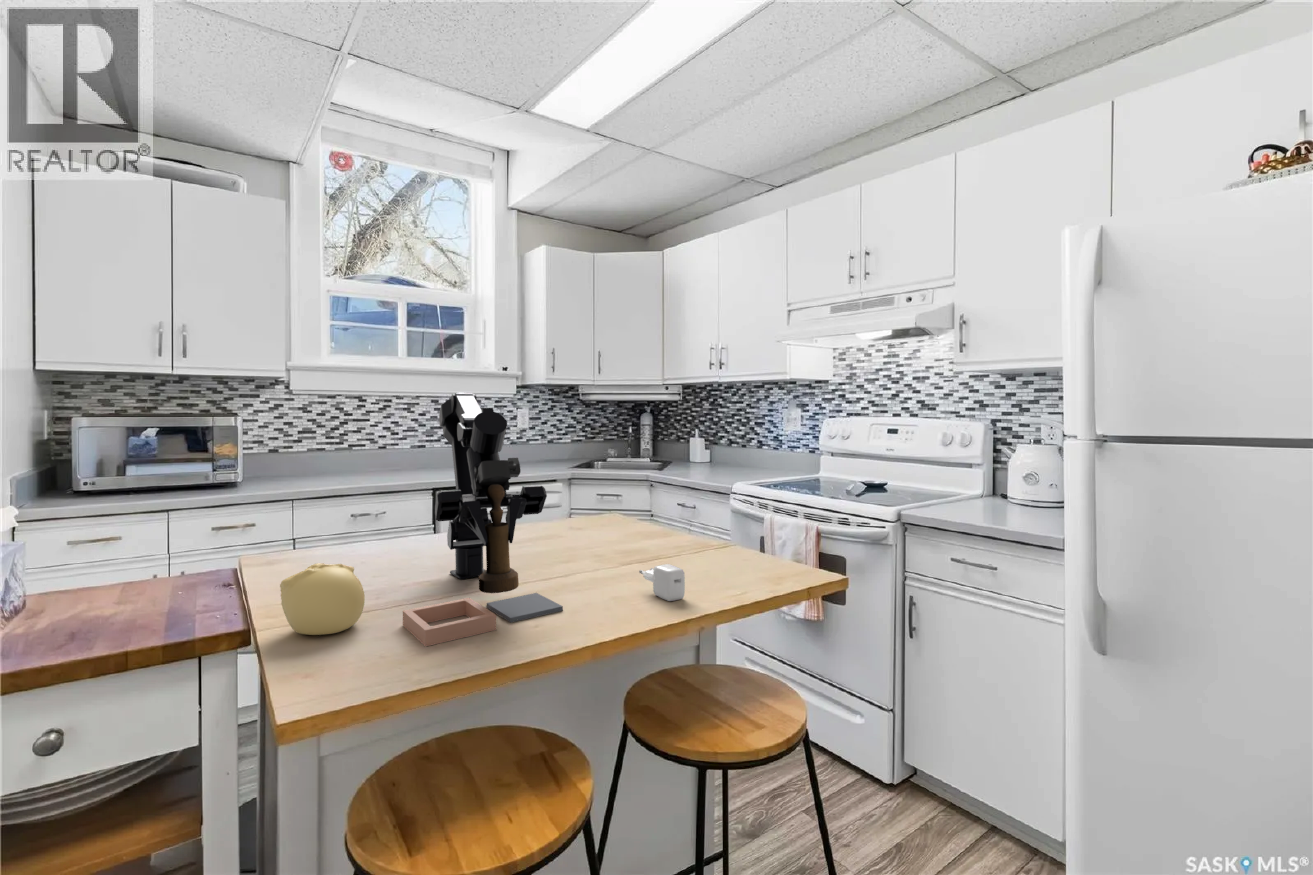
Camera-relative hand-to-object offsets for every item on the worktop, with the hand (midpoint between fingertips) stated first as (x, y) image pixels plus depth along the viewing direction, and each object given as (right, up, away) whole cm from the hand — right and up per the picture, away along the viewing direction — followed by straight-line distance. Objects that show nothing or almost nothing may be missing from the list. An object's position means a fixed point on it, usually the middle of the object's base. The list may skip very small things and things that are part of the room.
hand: (499, 543), depth 107 cm
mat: (+3, -13, +6) cm, 15 cm away
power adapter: (+28, -13, +15) cm, 34 cm away
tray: (-7, -13, -3) cm, 16 cm away
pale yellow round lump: (-27, -14, -4) cm, 31 cm away
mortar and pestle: (-1, -8, +2) cm, 8 cm away
